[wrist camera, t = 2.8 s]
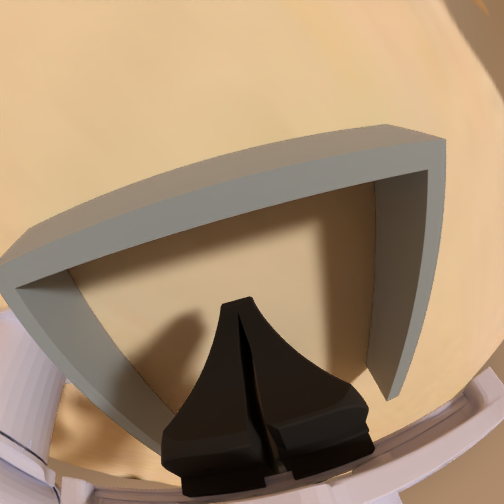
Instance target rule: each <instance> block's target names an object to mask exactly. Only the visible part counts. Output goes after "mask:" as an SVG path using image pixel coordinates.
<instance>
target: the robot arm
mask: <svg viewBox="0 0 504 504" xmlns="http://www.w3.org/2000/svg"><path fill="white" fill-rule="evenodd" d="M253 362H254V364H253ZM254 367H255V371H254ZM255 372H256V377H257V382H258V387H259V392H260V397H261V403H262V409H263V413H262V409H261V406H260V402H259V397H258V392H257V385H256V378H255ZM67 383H71V382H70V380H69V379H68V378H67V377H66V376H65V375H64V374H63V373H62V372H61V371H60V370H59V369H58V368H57V367H56V366H55V364H54V363H53V362H52V361H51V360H50V359H49V358H48V357H47V355H46V354H45V353H44V352H43V351H42V350H41V348H40V347H39V346H38V345H37V343H36V342H35V341H34V340H33V338H32V337H31V336H30V335H29V333H28V332H27V331H26V329H25V328H24V327H23V325H22V324H21V323H20V321H19V320H18V319H17V317H16V316H15V314H14V313H13V312H12V310H11V309H10V308H7V309H4V310H1V311H0V504H208V503H216V504H402V501H401V499H400V497H399V494H398V493H399V492H401V491H403V490H405V489H407V488H409V487H411V486H412V485H414V484H416V483H417V482H420V481H421V480H423V479H425V478H426V477H428V476H430V475H431V474H433V473H435V472H436V471H438V470H439V469H441V468H442V467H444V466H446V465H447V464H449V463H450V462H451V461H453V460H454V459H456V458H457V457H459V456H460V455H461V454H463V453H464V452H465V451H467V450H468V449H469V448H471V447H472V446H473V445H475V444H476V443H477V442H478V441H480V440H481V439H482V438H483V437H485V436H486V435H487V434H488V433H489V432H491V431H492V430H493V429H494V428H495V427H496V426H497V425H498V424H499V423H500V422H501V421H503V419H504V385H503V383H502V382H501V381H500V380H499V378H498V377H497V375H496V374H495V373H494V372H493V370H492V369H491V368H490V367H487V368H486V369H485V370H484V371H482V372H481V373H480V374H478V375H477V376H476V377H474V378H473V379H472V380H471V381H470V382H469V383H468V384H467V385H466V387H465V388H464V391H463V392H461V393H460V394H459V395H457V396H456V397H454V398H453V399H451V400H450V401H448V402H447V403H445V404H443V405H442V406H440V407H439V408H437V409H435V410H434V411H432V412H430V413H429V414H427V415H425V416H424V417H422V418H420V419H418V420H417V421H415V422H413V423H411V424H409V425H407V426H405V427H404V428H402V429H400V430H398V431H396V432H394V433H392V434H390V435H387V436H385V437H383V438H381V439H379V440H377V441H374V442H372V440H371V438H370V435H369V433H368V432H369V428H368V426H367V424H366V418H367V415H368V412H369V407H368V406H367V404H366V402H365V400H364V399H363V398H362V396H361V395H360V394H359V393H358V391H357V390H356V389H355V388H354V387H353V386H352V385H351V384H349V383H347V382H345V381H343V380H341V379H339V378H337V377H335V376H333V375H331V374H329V373H328V372H326V371H324V370H323V369H321V368H319V367H318V366H316V365H315V364H314V363H312V362H311V361H309V360H308V359H306V358H305V357H304V356H302V355H301V354H300V353H298V352H297V351H296V350H295V349H294V348H292V347H291V346H290V345H289V344H288V343H287V342H286V341H285V340H284V339H283V338H282V337H281V336H280V335H279V334H278V333H277V332H276V331H275V330H274V329H273V328H272V327H271V325H270V324H269V323H268V322H267V320H266V319H265V318H264V317H263V315H262V314H261V312H260V311H259V309H258V308H257V306H256V304H255V302H254V300H253V298H252V297H250V296H249V297H246V298H242V299H238V300H235V301H231V302H227V303H224V304H222V305H221V309H220V316H219V321H218V326H217V330H216V334H215V337H214V341H213V344H212V347H211V350H210V353H209V356H208V358H207V361H206V363H205V366H204V368H203V370H202V373H201V375H200V377H199V379H198V381H197V383H196V385H195V386H194V388H193V390H192V392H191V393H190V395H189V397H188V398H187V400H186V401H185V403H184V404H183V406H182V407H181V409H180V410H179V412H178V413H177V414H176V416H175V417H174V418H173V419H172V421H171V422H170V423H169V424H168V426H167V427H166V428H165V429H164V430H163V434H162V441H161V464H162V466H163V467H164V468H165V469H167V470H168V471H170V472H172V473H174V474H175V475H177V476H179V477H181V484H182V488H176V489H135V488H118V487H106V486H97V485H93V484H92V483H90V482H88V481H85V480H82V479H78V478H71V477H66V476H63V477H62V488H60V487H59V486H58V484H56V483H55V477H56V472H55V471H53V470H51V469H50V468H48V467H47V464H48V458H49V451H50V445H51V440H52V434H53V429H54V425H55V420H56V415H57V411H58V407H59V403H60V399H61V395H62V391H63V387H64V384H67ZM263 415H264V417H263ZM266 426H267V428H268V430H269V432H270V434H271V436H272V438H273V440H274V442H275V444H276V447H277V450H278V454H279V458H280V461H281V462H282V463H283V465H284V466H285V468H286V470H287V472H285V473H281V474H280V472H279V469H278V466H277V463H276V459H275V456H274V453H273V449H272V446H271V442H270V439H269V435H268V432H267V428H266ZM351 470H353V471H352V475H349V476H346V477H344V478H340V479H337V480H333V481H330V482H326V483H317V484H313V483H316V482H320V481H323V480H326V479H329V478H332V477H335V476H338V475H340V474H343V473H346V472H348V471H351ZM310 484H312V485H310ZM306 485H308V486H306ZM218 502H221V503H218Z"/></svg>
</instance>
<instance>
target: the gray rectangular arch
mask: <svg viewBox="0 0 504 504" xmlns="http://www.w3.org/2000/svg"><path fill="white" fill-rule="evenodd" d="M371 181H374V183H375V209H376V251H375V278H374V294H373V307H372V318H371V328H370V337H369V345H368V352H367V359H366V366H367V367H368V369H369V371H370V373H371V374H372V376H373V378H374V380H375V381H376V383H377V385H378V387H379V389H380V390H381V392H382V394H383V396H384V398H385V399H386V401H389V400H391V399H393V398H395V397H397V396H399V393H400V391H401V388H402V386H403V383H404V380H405V378H406V375H407V372H408V370H409V367H410V364H411V361H412V358H413V355H414V352H415V349H416V346H417V343H418V340H419V336H420V333H421V329H422V326H423V322H424V318H425V315H426V311H427V307H428V303H429V298H430V294H431V290H432V285H433V280H434V275H435V270H436V264H437V258H438V252H439V246H440V239H441V231H442V222H443V212H444V200H445V182H446V139H443V138H440V137H436V136H433V135H429V134H426V133H422V132H418V131H414V130H410V129H406V128H402V127H397V126H393V125H388V124H386V125H377V126H369V127H361V128H354V129H347V130H340V131H334V132H328V133H322V134H316V135H310V136H305V137H300V138H295V139H290V140H285V141H280V142H276V143H271V144H267V145H262V146H258V147H254V148H250V149H245V150H241V151H238V152H234V153H230V154H226V155H222V156H219V157H215V158H211V159H208V160H204V161H201V162H198V163H194V164H191V165H188V166H184V167H181V168H178V169H175V170H172V171H169V172H165V173H162V174H159V175H157V176H154V177H151V178H148V179H145V180H142V181H139V182H137V183H134V184H131V185H128V186H126V187H123V188H120V189H118V190H115V191H113V192H110V193H107V194H105V195H102V196H100V197H97V198H95V199H93V200H90V201H88V202H85V203H83V204H81V205H78V206H76V207H74V208H72V209H69V210H67V211H65V212H63V213H61V214H58V215H56V216H54V217H52V218H50V219H48V220H46V221H44V222H41V223H39V224H37V225H35V226H33V227H31V228H29V229H28V230H27V231H26V232H25V233H24V234H23V235H22V236H21V237H20V238H19V239H18V240H17V241H16V242H15V243H14V244H13V245H12V246H11V247H10V248H9V249H8V250H7V251H6V252H5V254H4V255H3V256H2V257H1V258H0V293H1V295H2V297H3V298H4V300H5V301H6V303H7V304H8V306H9V307H10V309H11V310H12V312H13V313H14V314H15V316H16V317H17V319H18V320H19V321H20V323H21V324H22V325H23V327H24V328H25V329H26V331H27V332H28V333H29V335H30V336H31V337H32V338H33V340H34V341H35V342H36V343H37V345H38V346H39V347H40V348H41V350H42V351H43V352H44V353H45V354H46V355H47V357H48V358H49V359H50V360H51V361H52V362H53V363H54V364H55V366H56V367H57V368H58V369H59V370H60V371H61V372H62V373H63V374H64V375H65V376H66V377H67V378H68V379H69V380H70V382H71V383H72V384H73V385H74V386H75V387H76V388H77V389H79V390H80V391H81V392H82V393H83V394H84V395H85V396H86V397H87V398H88V399H89V400H90V401H91V402H92V403H93V404H94V405H96V406H97V407H98V408H99V409H100V410H101V411H102V412H104V413H105V414H106V415H107V416H108V417H109V418H111V419H112V420H113V421H114V422H115V423H117V424H118V425H119V426H120V427H122V428H123V429H124V430H125V431H127V432H128V433H129V434H131V435H132V436H133V437H135V438H136V439H137V440H139V441H140V442H141V443H143V444H144V445H146V446H147V447H148V448H150V449H151V450H153V451H154V452H156V453H157V454H159V455H160V456H161V441H162V434H163V430H164V429H165V428H166V427H167V426H168V424H169V423H170V422H171V421H172V419H173V418H174V417H175V416H176V415H175V414H174V413H173V412H172V411H171V410H170V409H169V408H168V407H167V406H166V404H165V403H164V402H163V401H162V400H161V399H160V398H159V397H158V396H157V395H156V394H155V392H154V391H153V390H152V389H151V388H150V387H149V386H148V384H147V383H146V382H145V381H144V380H143V379H142V377H141V376H140V375H139V374H138V373H137V371H136V370H135V369H134V368H133V366H132V365H131V364H130V363H129V361H128V360H127V359H126V358H125V356H124V355H123V354H122V352H121V351H120V350H119V348H118V347H117V346H116V344H115V343H114V342H113V340H112V339H111V338H110V336H109V335H108V333H107V332H106V331H105V329H104V328H103V326H102V325H101V323H100V322H99V320H98V319H97V317H96V316H95V314H94V313H93V311H92V310H91V308H90V307H89V305H88V304H87V302H86V301H85V299H84V297H83V296H82V294H81V293H80V291H79V289H78V288H77V286H76V284H75V283H74V281H73V279H72V277H71V276H70V274H69V272H68V270H67V269H68V268H71V267H74V266H77V265H80V264H83V263H86V262H88V261H91V260H94V259H97V258H100V257H103V256H106V255H109V254H112V253H115V252H118V251H121V250H124V249H127V248H130V247H133V246H136V245H140V244H143V243H146V242H149V241H152V240H155V239H159V238H162V237H165V236H168V235H172V234H175V233H178V232H181V231H185V230H188V229H191V228H195V227H198V226H202V225H205V224H208V223H212V222H215V221H219V220H222V219H226V218H229V217H233V216H236V215H240V214H244V213H247V212H251V211H254V210H258V209H262V208H266V207H269V206H273V205H277V204H281V203H284V202H288V201H292V200H296V199H300V198H304V197H308V196H312V195H316V194H320V193H324V192H328V191H332V190H336V189H341V188H345V187H349V186H353V185H358V184H362V183H366V182H371Z"/></svg>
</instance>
